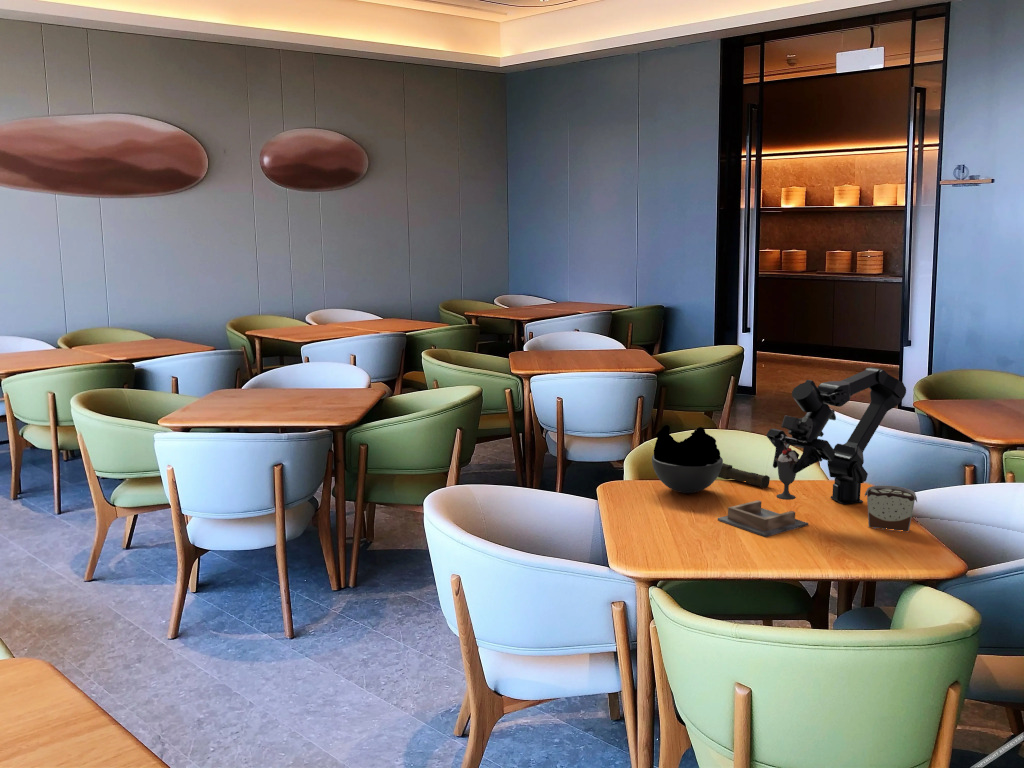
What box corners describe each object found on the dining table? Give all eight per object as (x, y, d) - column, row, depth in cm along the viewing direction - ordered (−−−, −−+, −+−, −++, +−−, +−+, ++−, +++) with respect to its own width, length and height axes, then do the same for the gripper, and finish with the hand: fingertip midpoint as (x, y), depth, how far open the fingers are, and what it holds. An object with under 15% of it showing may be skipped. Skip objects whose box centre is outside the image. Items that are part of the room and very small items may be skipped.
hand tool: (770, 487, 274) (771, 472, 273) (762, 490, 271) (762, 474, 270) (719, 474, 288) (720, 460, 288) (711, 476, 286) (711, 462, 285)
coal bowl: (736, 495, 266) (739, 430, 262) (682, 506, 255) (684, 439, 252) (689, 478, 282) (691, 417, 279) (637, 488, 272) (638, 425, 269)
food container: (915, 526, 238) (918, 488, 236) (915, 533, 232) (917, 494, 231) (864, 519, 243) (866, 482, 241) (862, 526, 237) (864, 488, 236)
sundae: (775, 500, 242) (778, 444, 239) (770, 493, 248) (773, 438, 246) (801, 501, 241) (804, 444, 239) (795, 493, 248) (798, 438, 245)
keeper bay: (759, 509, 252) (760, 496, 251) (808, 525, 239) (808, 511, 238) (717, 520, 243) (718, 506, 243) (765, 537, 230) (765, 523, 229)
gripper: (772, 398, 250) (742, 444, 246) (830, 410, 235) (798, 459, 231) (790, 423, 256) (761, 469, 252) (848, 436, 241) (818, 484, 237)
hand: (783, 469), depth 243 cm, fingers closed on sundae, 6 cm apart
